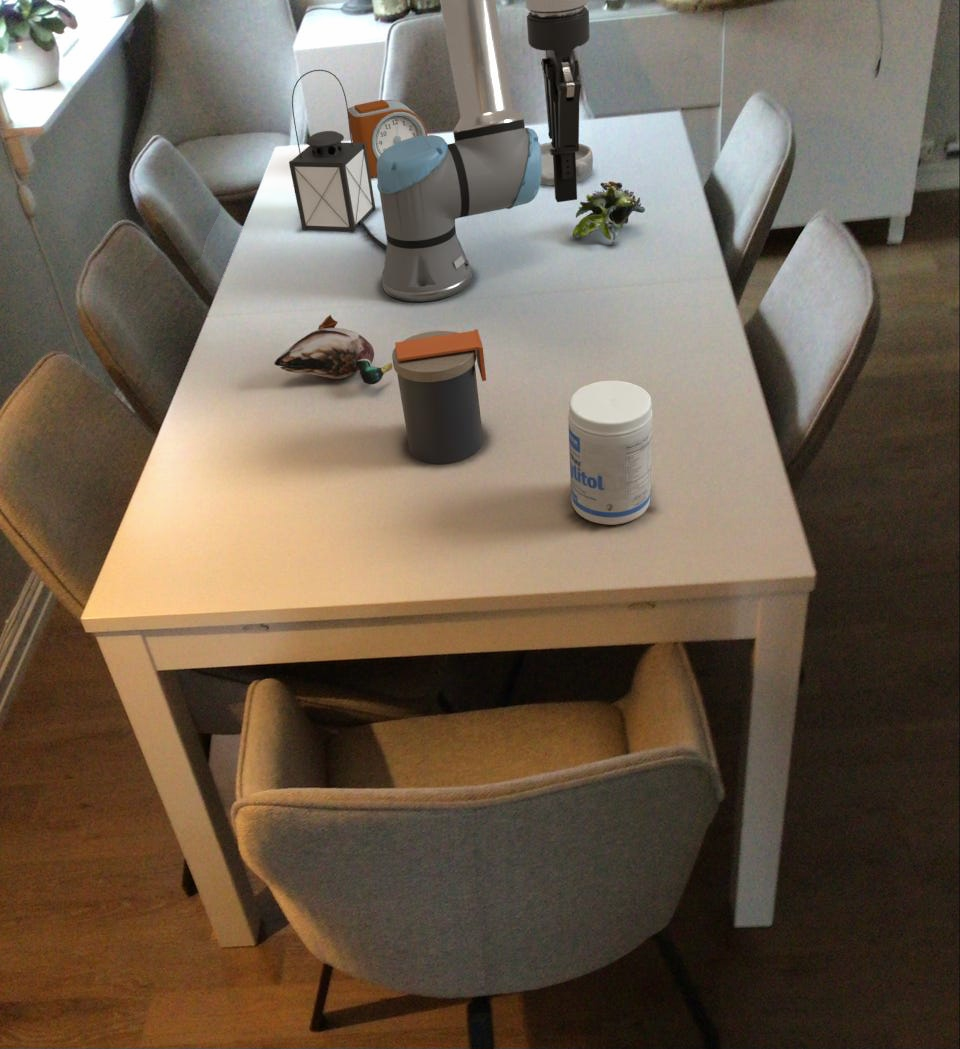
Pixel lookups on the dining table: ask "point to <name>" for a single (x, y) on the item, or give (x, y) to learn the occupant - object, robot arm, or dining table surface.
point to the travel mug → (440, 404)
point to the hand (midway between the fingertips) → (566, 198)
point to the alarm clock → (383, 127)
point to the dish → (582, 163)
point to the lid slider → (443, 347)
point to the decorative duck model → (332, 354)
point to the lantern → (332, 181)
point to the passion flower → (607, 210)
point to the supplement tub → (610, 451)
